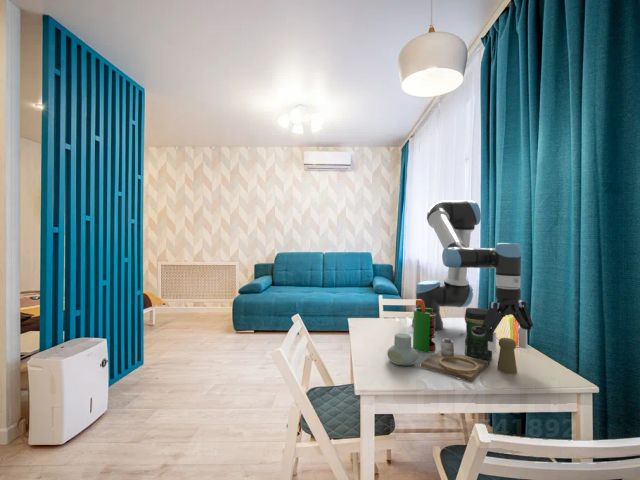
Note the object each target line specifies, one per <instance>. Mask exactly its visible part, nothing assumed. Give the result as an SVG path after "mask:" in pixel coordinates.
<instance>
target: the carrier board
mask: <svg viewBox="0 0 640 480" xmlns="http://www.w3.org/2000/svg"><path fill="white" fill-rule="evenodd" d="M440 342H441V343H440V350H438V351H437V352H436V353H433V354H432V355H430V356H429V357H427V358H426V359H424V360H422V361H421V362H420V368H423V369H426V370H429V371H430V370H431V371H433V372H437V373H439V374H440V373H441V374H443V375H447V376H451V377H454V378H457V379H461V380H463V381H467V382H470V383H472V382H474V380H475V379H476V378H477V377H478V376H479V375H480V374H481V373H482V372H483V371H484V370H485V369H486V368H487V367H488V366H489V360H485V359H476V358H472V357H468V356H466V355H464V354H460V353H455V352H454V350H455V348H454V347H455V346H454V345H455V344H454V343H455V342H454V341H453V340H452V339H451V338H448V337H444V339H441V341H440Z"/></svg>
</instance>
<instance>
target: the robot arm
mask: <svg viewBox="0 0 640 480" xmlns="http://www.w3.org/2000/svg"><path fill="white" fill-rule="evenodd" d="M481 214H482V213H481V208H480V206H479V204H478V203H477V202H476V201H474V200H465V199H463V200H440V201H438V202H436V203H434V204H433V205H431V206H430V207H429V209H428V211H427V215H426V220H427V223H428V226H430V227H431V228H432V229H433V230H434V232H435V233H436V236H437V238H438V240H439V243H440V244H441V246H442V248H443V250H442V254H441V255H442V256H441V259H442V260H441V261H442V264H443V266H445V267H446V268H447V269H448V272H447V277H445V278H444V280H443V281H444V282H443V283H441V282H440V281H439V280H432V279H431V280H424V281H419V282H418V283H417V284H416V287H415V300H416V299H421V300H423V302H424V305H425V308H430V309H433V313H434V314H435V315H436V317H433V318H435V321H434V322H435V330H434V331H441V330H443V329H444V323H443V319H442V316H441V313H440V311H441V309H440V307H441V308H442V307H444V308H445V307H447V308H449V307H450V308H468V306H470V304H471V303H472V301H473V298H474V297H473V296H474V292H473V290H474V289H473V286H472V285H471V284H470V281H469V280H468V279H467V275H468V268H473V269H474V268H475V269H476V268H477V269H478V268H479V269H495V281H494V282H495V286H496V287H495V294H494V295H495V298H496V299H497V301H496V302H494V301H489V304H488V312H487V314H486V317H485V319H484V322H483V324H482V327H481V328H482V329H483V330H486V331H487V341H488V350H490V351H492V353H497V332H495V330H496V329H497V328H498V326H499V325H500V323H501V321H502V320H503V318H505V317H506V316H510V315H511V316H513V318H514V319H515V321H516V322H517V324H518V325H519V327H518V347H520V348H522V349H525V350H526V349H528V337H529V331H530V330H532V328H533V327H534V323H533V321H532V317H531V315H530V313H529V310H528V308H527V301H526V300H521V299H522V295H521V294H522V290H521V289H520V288H521V281H522V280H521V273H522V272H521V271H522V269H521V268H522V251H521V250H522V249H521V247H522V246H521V244H520V243H518V242H498V243H496V244H495V247H470V244H471V243H470V242H471V234H472V232H473V231H475V228H476V226H478V225H479V224H480V222H481V220H482V215H481ZM415 308H421V305H416V304H415ZM413 322H414V317H413V318H412V321H411V325H412V327H413ZM486 326H487V327H486Z"/></svg>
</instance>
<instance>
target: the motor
mask: <svg viewBox="0 0 640 480" xmlns="http://www.w3.org/2000/svg"><path fill="white" fill-rule="evenodd" d="M416 305H421V308H416V307H415V308H413V318H414V322H413V326H412V328H413V329H412V332H413V333H412V348H414V349H415V350H416V351H417V352H422V353H430V352H435V351H436V350H437V349H436V342H434V341H433V339H435V338H436V335H435V334H436V330H435V322H434V321H435V318H433V317H436V315H435V314H434V313H433V309H430V308H425V305H424V302H423V300H421V299H416V298H415V306H416Z"/></svg>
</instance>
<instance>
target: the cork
mask: <svg viewBox="0 0 640 480" xmlns="http://www.w3.org/2000/svg"><path fill="white" fill-rule="evenodd" d="M498 345H499V347H500V348H499V355H498V361H497V366H496V370H497V371H499V372H501V373H504V374H508V375H516V374H517V373H518V369H517V362H516V361H517V359H516V355H515V349H516V347H517V343H516V341H515V340H514V339H512V338H509V337H501V338H500V339H499V340H498Z"/></svg>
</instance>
